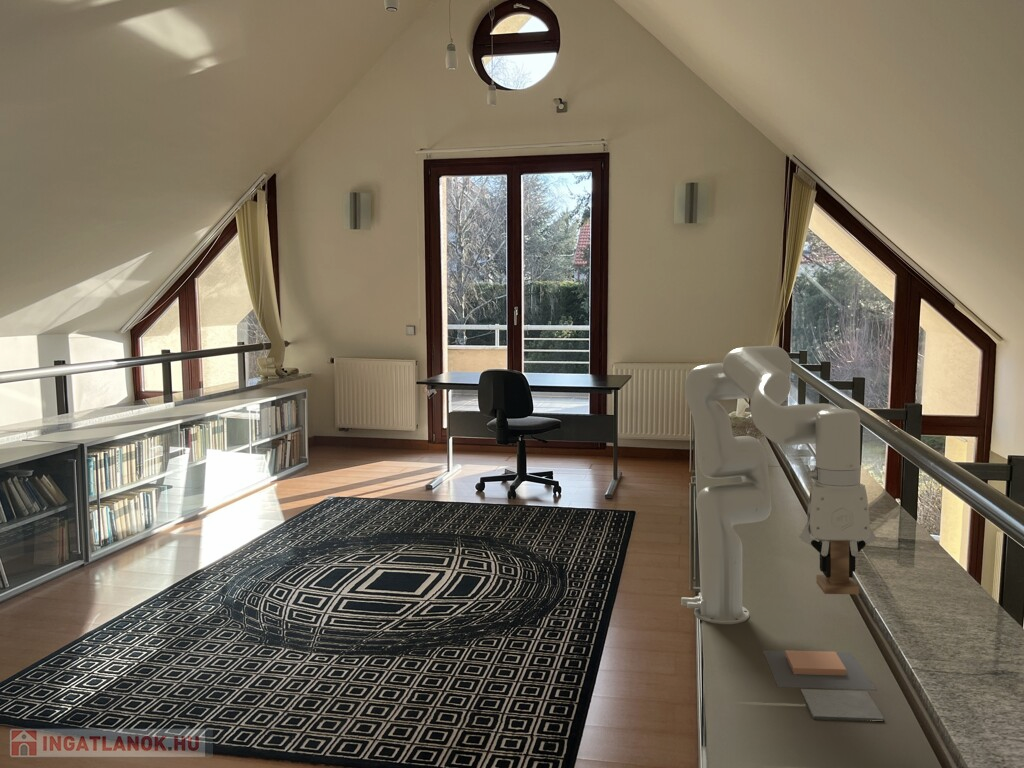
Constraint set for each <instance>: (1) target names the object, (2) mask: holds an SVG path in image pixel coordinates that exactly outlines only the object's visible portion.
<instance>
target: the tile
mask: <svg viewBox="0 0 1024 768" xmlns="http://www.w3.org/2000/svg"><path fill="white" fill-rule="evenodd" d="M784 651H785V657H786V659H787V661H788V663H789V665H790V667H791V669H792V672H793V674H803V675H837V676H845V675H846V668H845V666H844V665H843V663H842V662H841V660H840V658H839V657H838V655H837V653H838V652H837V651H829V650H828V651H827V650H825V651H824V650H822V651H821V650H819V651H818V650H784Z"/></svg>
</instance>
